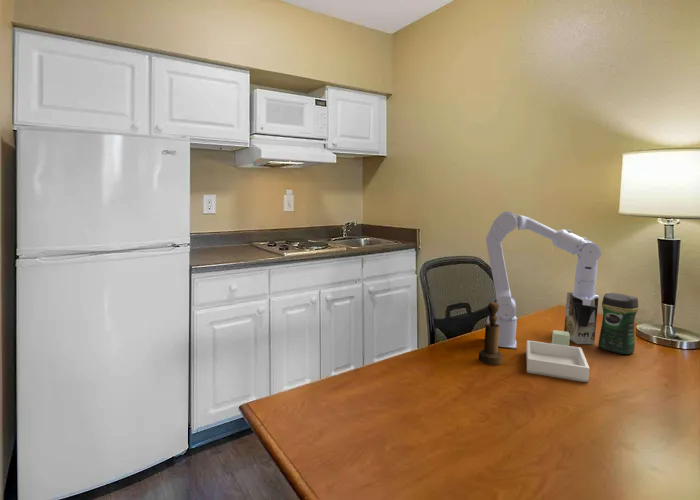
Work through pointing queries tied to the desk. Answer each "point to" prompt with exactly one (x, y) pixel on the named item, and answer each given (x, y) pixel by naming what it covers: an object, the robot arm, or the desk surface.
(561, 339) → the green block
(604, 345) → the coffee jar
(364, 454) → the desk surface
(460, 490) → the desk surface
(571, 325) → the coffee box
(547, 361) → the white bin
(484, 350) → the wooden pepper mill
